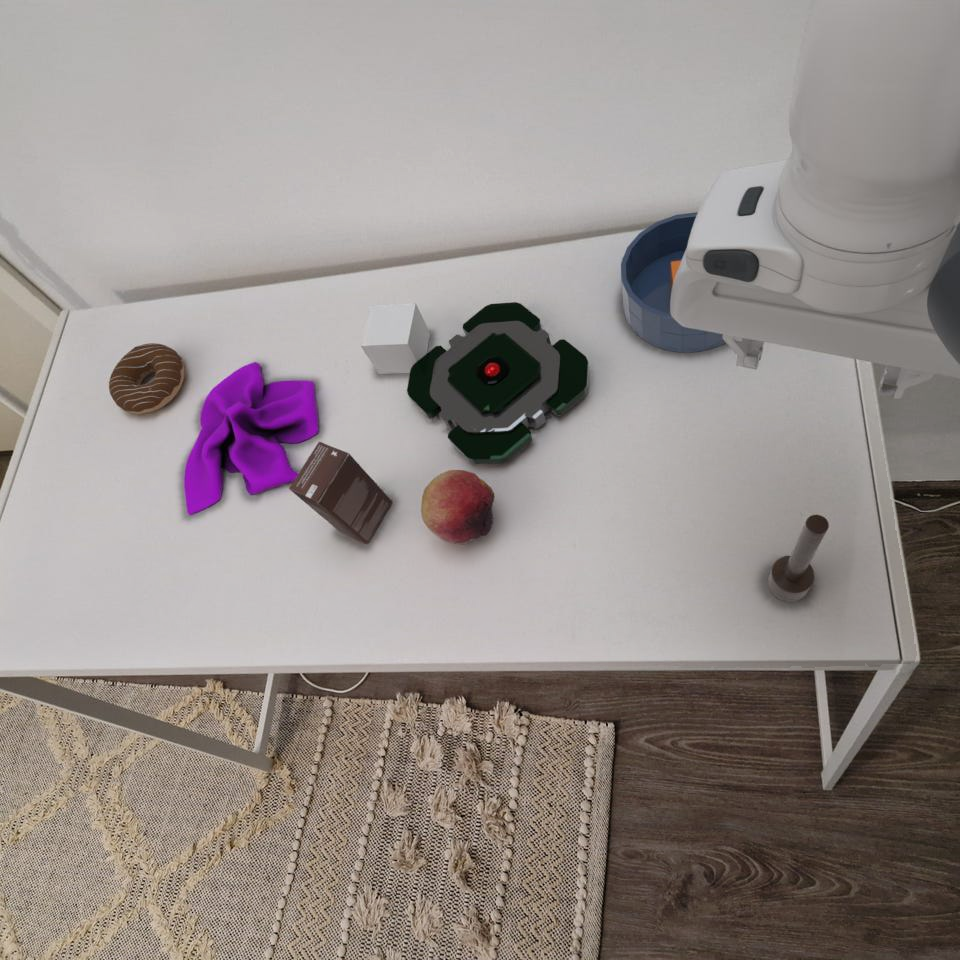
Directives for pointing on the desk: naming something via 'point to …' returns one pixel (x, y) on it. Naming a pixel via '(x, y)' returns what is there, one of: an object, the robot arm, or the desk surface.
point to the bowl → (660, 287)
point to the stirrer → (798, 563)
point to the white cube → (395, 337)
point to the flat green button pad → (498, 382)
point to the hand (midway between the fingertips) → (817, 374)
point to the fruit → (458, 506)
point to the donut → (136, 368)
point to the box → (341, 492)
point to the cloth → (248, 434)
